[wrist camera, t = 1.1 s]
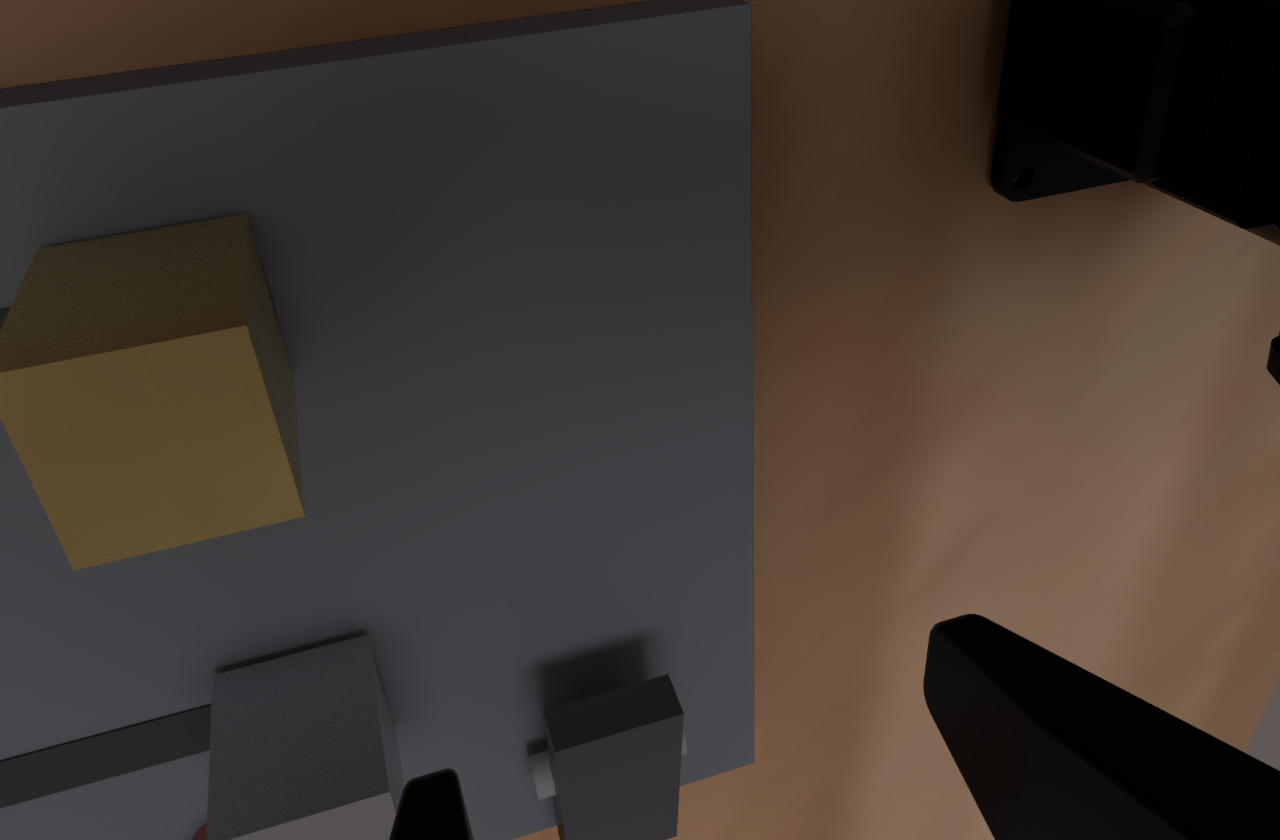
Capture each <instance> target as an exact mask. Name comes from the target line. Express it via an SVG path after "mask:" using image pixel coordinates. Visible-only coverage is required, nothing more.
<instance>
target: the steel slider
mask: <svg viewBox="0 0 1280 840" xmlns="http://www.w3.org/2000/svg"><path fill="white" fill-rule="evenodd" d="M403 789H404V782H403V776H402V769H401V763H400V756H399V750H398V744H397V737H396V732H395V729H394V725H393V722H392V718H391V715H390V711H389V708H388V704H387V701H386V697H385V694H384V690H383V687H382V683H381V680H380V676H379V673H378V670H377V666H376V663H375V659H374V656H373V652H372V649H371V645H370V642H369V638H368V635H364V636H360V637H356V638H352V639H348V640H345V641H341V642H337V643H333V644H329V645H326V646H322V647H318V648H314V649H310V650H307V651H303V652H299V653H295V654H291V655H288V656H284V657H280V658H276V659H272V660H269V661H265V662H261V663H257V664H253V665H250V666H246V667H242V668H238V669H234V670H230V671H227V672H223V673H219V674H215V675H213V677H212V703H211V730H210V756H209V783H208V809H207V836H206V840H389V838H390V834H391V830H392V827H393V823H394V820H395V816H396V812H397V809H398V805H399V801H400V798H401V794H402V791H403Z"/></svg>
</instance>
